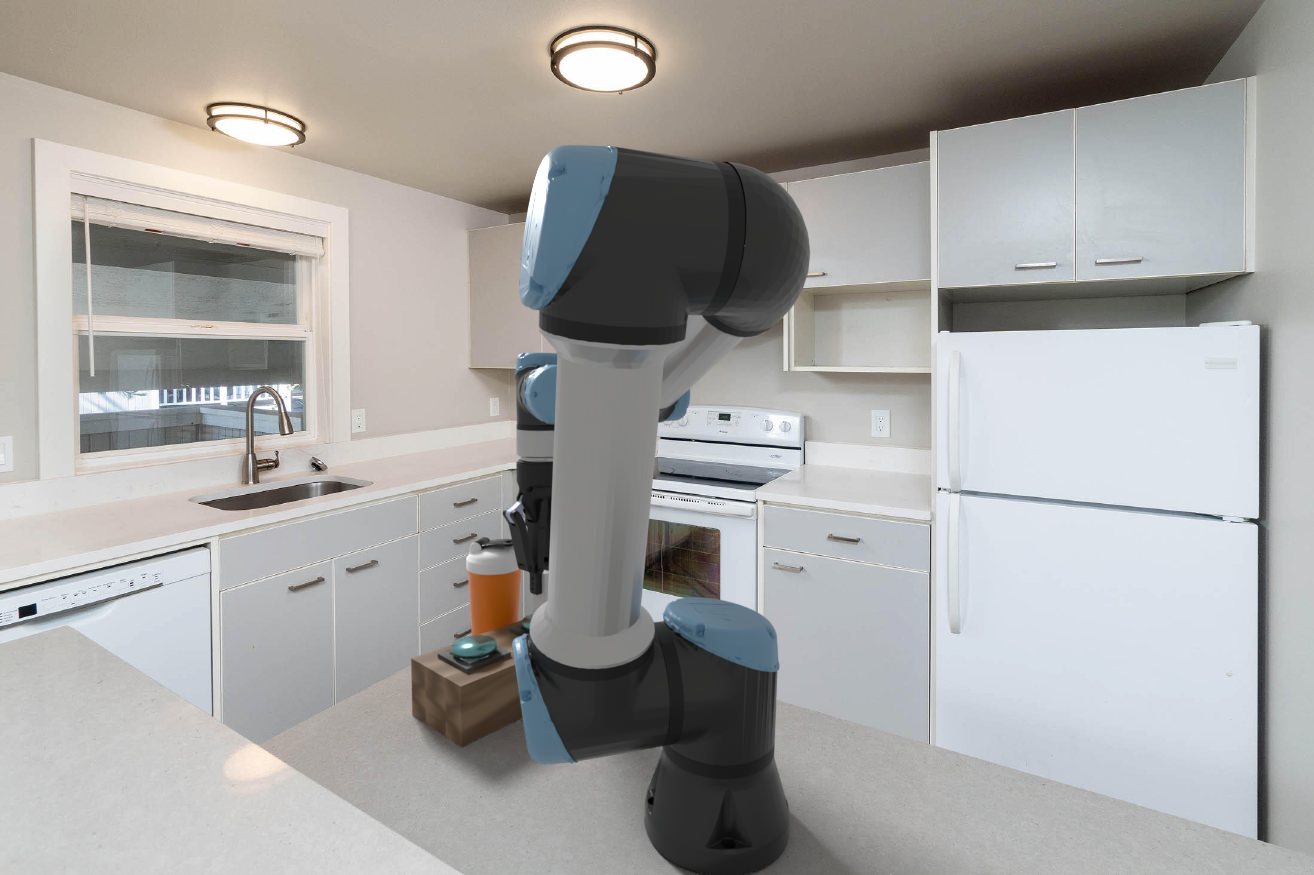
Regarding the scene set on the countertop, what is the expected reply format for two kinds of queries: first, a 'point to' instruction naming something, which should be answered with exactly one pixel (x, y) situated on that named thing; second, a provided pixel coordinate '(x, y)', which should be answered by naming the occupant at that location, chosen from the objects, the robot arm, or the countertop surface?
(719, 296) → the robot arm
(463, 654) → the peg left
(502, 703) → the socket block
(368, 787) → the countertop surface
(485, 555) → the shaker bottle
